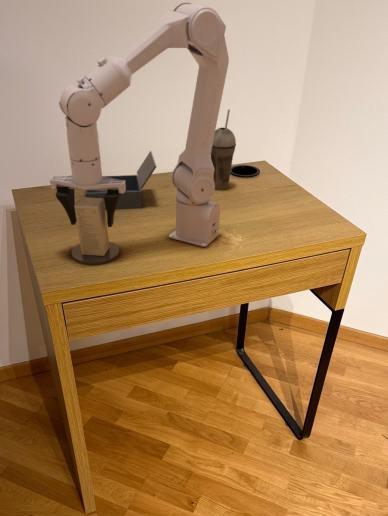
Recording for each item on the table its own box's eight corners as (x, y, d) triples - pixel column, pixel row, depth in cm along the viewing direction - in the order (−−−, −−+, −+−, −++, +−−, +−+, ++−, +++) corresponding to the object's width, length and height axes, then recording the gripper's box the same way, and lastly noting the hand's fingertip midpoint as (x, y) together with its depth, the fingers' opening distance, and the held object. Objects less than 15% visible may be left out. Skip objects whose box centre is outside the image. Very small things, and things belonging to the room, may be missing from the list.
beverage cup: (202, 183, 140) (205, 107, 127) (225, 180, 142) (231, 105, 129) (213, 193, 134) (217, 114, 122) (237, 189, 137) (243, 112, 124)
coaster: (127, 249, 108) (127, 246, 108) (101, 269, 101) (100, 266, 101) (90, 238, 111) (90, 236, 111) (62, 257, 104) (61, 254, 104)
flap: (136, 172, 131) (137, 173, 131) (140, 188, 122) (141, 189, 122) (150, 150, 128) (151, 151, 128) (155, 165, 119) (156, 166, 120)
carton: (137, 190, 134) (137, 174, 132) (141, 207, 125) (141, 191, 123) (87, 192, 132) (85, 176, 130) (87, 210, 123) (85, 193, 121)
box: (109, 247, 107) (105, 198, 100) (104, 256, 104) (99, 206, 97) (86, 245, 108) (80, 196, 101) (80, 254, 104) (73, 204, 97)
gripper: (126, 152, 96) (130, 217, 105) (54, 148, 97) (63, 213, 105) (119, 164, 91) (124, 232, 99) (42, 160, 91) (53, 228, 100)
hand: (92, 223), depth 102 cm, fingers open, 7 cm apart
